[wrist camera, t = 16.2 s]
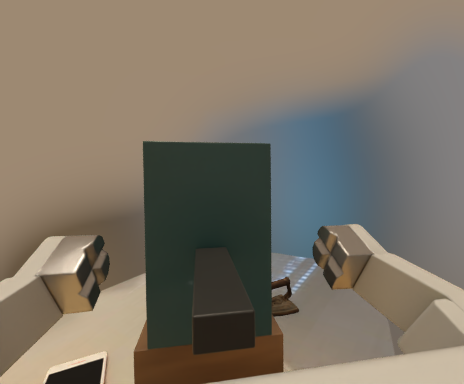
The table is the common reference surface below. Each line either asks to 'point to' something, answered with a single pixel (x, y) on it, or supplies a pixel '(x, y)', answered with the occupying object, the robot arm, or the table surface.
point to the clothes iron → (282, 299)
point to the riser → (207, 361)
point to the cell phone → (79, 371)
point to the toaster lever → (220, 305)
